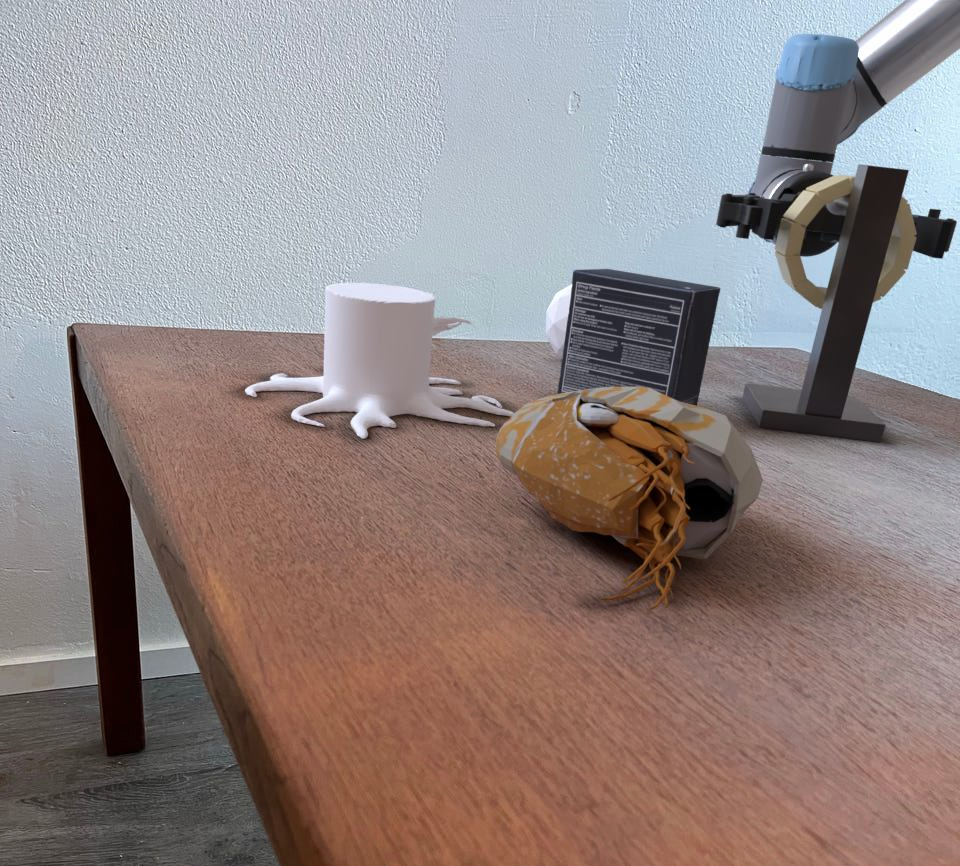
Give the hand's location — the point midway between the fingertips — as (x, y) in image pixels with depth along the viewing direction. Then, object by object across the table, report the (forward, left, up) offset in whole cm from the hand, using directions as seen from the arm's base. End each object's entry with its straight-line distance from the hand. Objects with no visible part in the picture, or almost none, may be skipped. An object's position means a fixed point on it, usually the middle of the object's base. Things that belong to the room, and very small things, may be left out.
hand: (857, 230), depth 78 cm
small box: (+16, +4, -16) cm, 23 cm away
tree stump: (+36, +11, -16) cm, 41 cm away
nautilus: (+18, +36, -16) cm, 43 cm away
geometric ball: (+20, -13, -16) cm, 29 cm away
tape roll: (0, -3, -6) cm, 7 cm away
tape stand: (0, -2, -15) cm, 15 cm away
